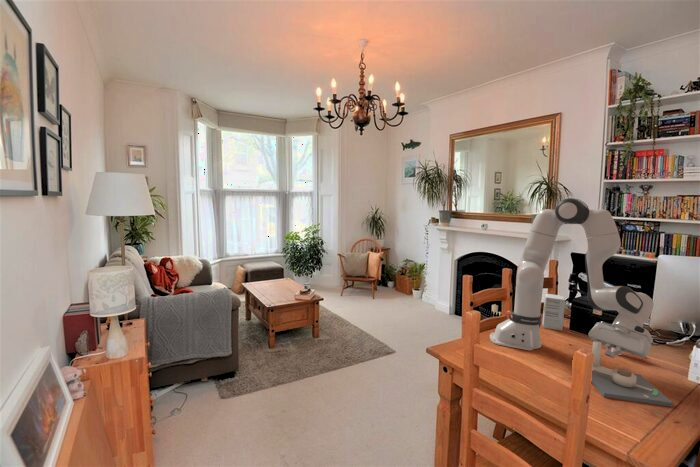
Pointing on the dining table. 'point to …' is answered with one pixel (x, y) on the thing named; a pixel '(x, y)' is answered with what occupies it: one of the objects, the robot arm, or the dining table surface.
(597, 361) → the dial rotor
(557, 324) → the supplement box
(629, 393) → the dial plate
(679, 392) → the dining table surface
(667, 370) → the dining table surface
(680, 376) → the dining table surface
